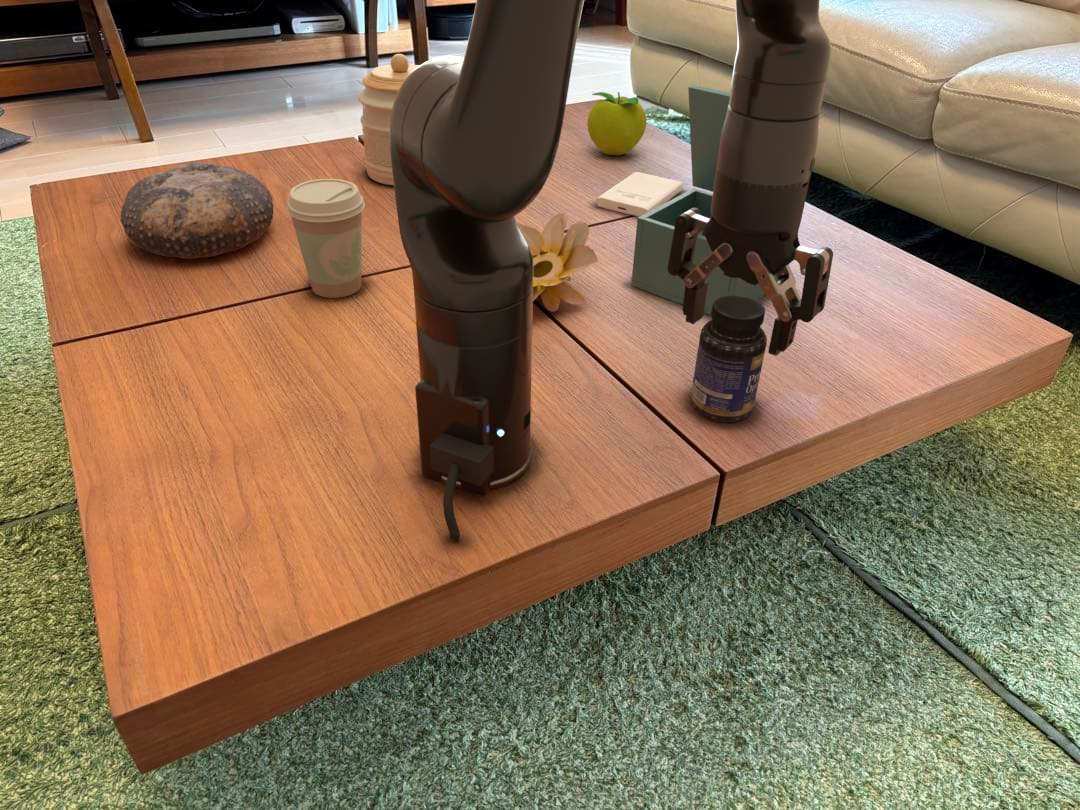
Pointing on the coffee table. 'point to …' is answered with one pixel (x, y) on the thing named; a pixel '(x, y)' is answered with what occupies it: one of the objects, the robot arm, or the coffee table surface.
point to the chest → (656, 250)
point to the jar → (381, 115)
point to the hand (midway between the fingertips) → (734, 335)
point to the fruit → (616, 123)
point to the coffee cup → (329, 234)
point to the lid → (706, 132)
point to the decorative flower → (558, 259)
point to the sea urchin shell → (196, 211)
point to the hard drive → (639, 194)
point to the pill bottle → (729, 359)
